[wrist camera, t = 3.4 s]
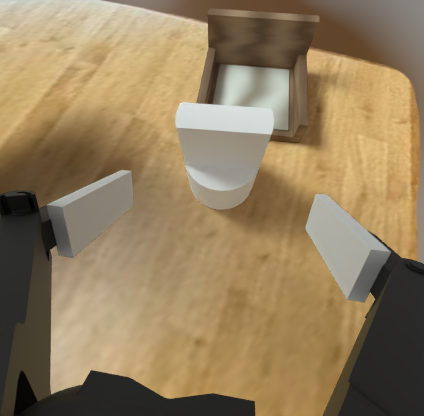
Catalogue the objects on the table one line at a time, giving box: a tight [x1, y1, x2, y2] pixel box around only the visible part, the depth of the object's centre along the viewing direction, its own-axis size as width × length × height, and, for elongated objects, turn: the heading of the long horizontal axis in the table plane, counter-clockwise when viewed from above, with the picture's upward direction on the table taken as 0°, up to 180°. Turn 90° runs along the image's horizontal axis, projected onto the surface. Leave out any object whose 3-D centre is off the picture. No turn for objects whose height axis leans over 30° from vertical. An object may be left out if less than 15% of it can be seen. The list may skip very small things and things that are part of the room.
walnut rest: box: [197, 9, 319, 143], centre depth 32 cm, size 16×16×8 cm
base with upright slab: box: [175, 102, 274, 210], centre depth 25 cm, size 9×9×12 cm
